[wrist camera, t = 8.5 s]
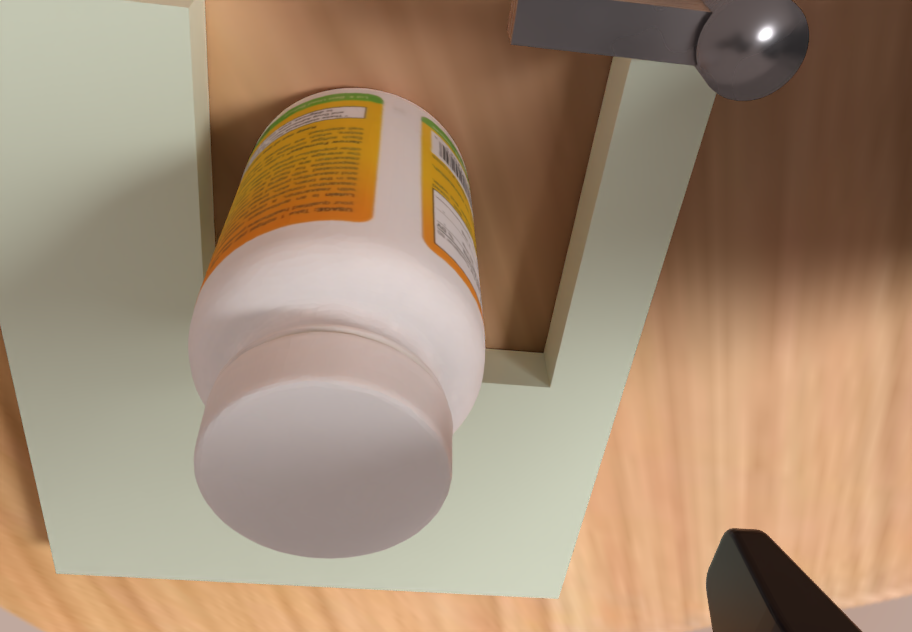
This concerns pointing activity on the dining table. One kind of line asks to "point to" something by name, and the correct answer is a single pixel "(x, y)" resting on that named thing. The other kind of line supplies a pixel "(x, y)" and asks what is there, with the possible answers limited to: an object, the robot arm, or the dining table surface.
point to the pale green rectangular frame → (179, 282)
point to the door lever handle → (677, 36)
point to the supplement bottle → (339, 329)
